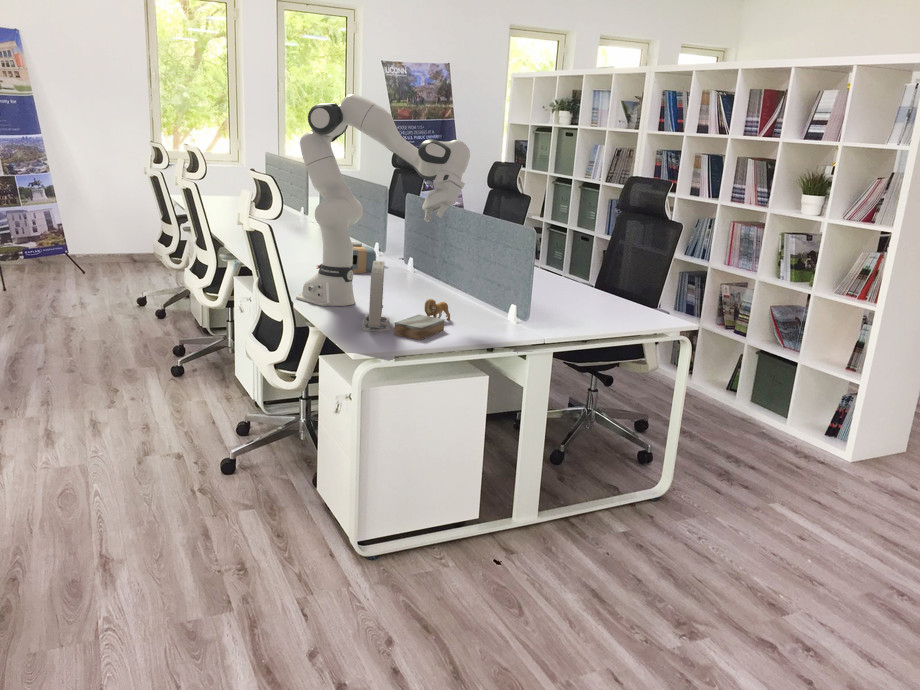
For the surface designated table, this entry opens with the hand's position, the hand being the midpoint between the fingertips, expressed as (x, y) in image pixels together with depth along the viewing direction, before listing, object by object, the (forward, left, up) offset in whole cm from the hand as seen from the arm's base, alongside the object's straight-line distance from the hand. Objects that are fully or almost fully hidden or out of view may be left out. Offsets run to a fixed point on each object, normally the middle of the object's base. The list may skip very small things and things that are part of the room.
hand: (432, 218), depth 279 cm
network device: (-7, -22, -36) cm, 43 cm away
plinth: (+9, -21, -35) cm, 42 cm away
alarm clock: (-72, +60, -36) cm, 100 cm away
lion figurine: (+6, -3, -36) cm, 36 cm away
